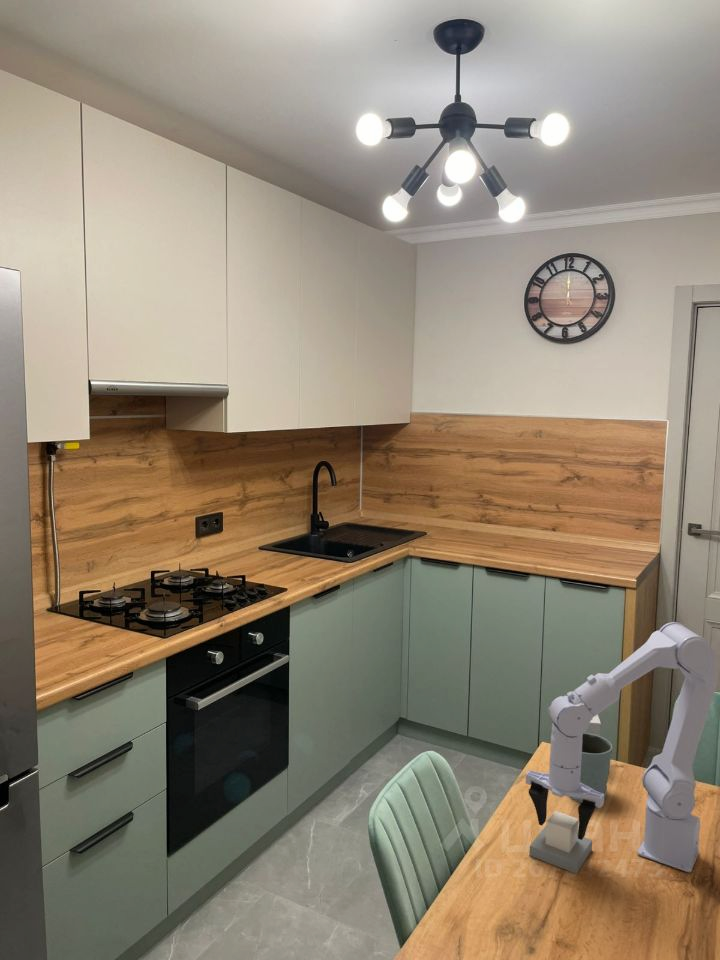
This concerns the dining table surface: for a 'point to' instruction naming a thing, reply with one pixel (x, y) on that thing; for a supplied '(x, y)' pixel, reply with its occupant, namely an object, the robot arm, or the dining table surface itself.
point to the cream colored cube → (561, 831)
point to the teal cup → (595, 763)
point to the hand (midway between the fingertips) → (561, 829)
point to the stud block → (561, 853)
